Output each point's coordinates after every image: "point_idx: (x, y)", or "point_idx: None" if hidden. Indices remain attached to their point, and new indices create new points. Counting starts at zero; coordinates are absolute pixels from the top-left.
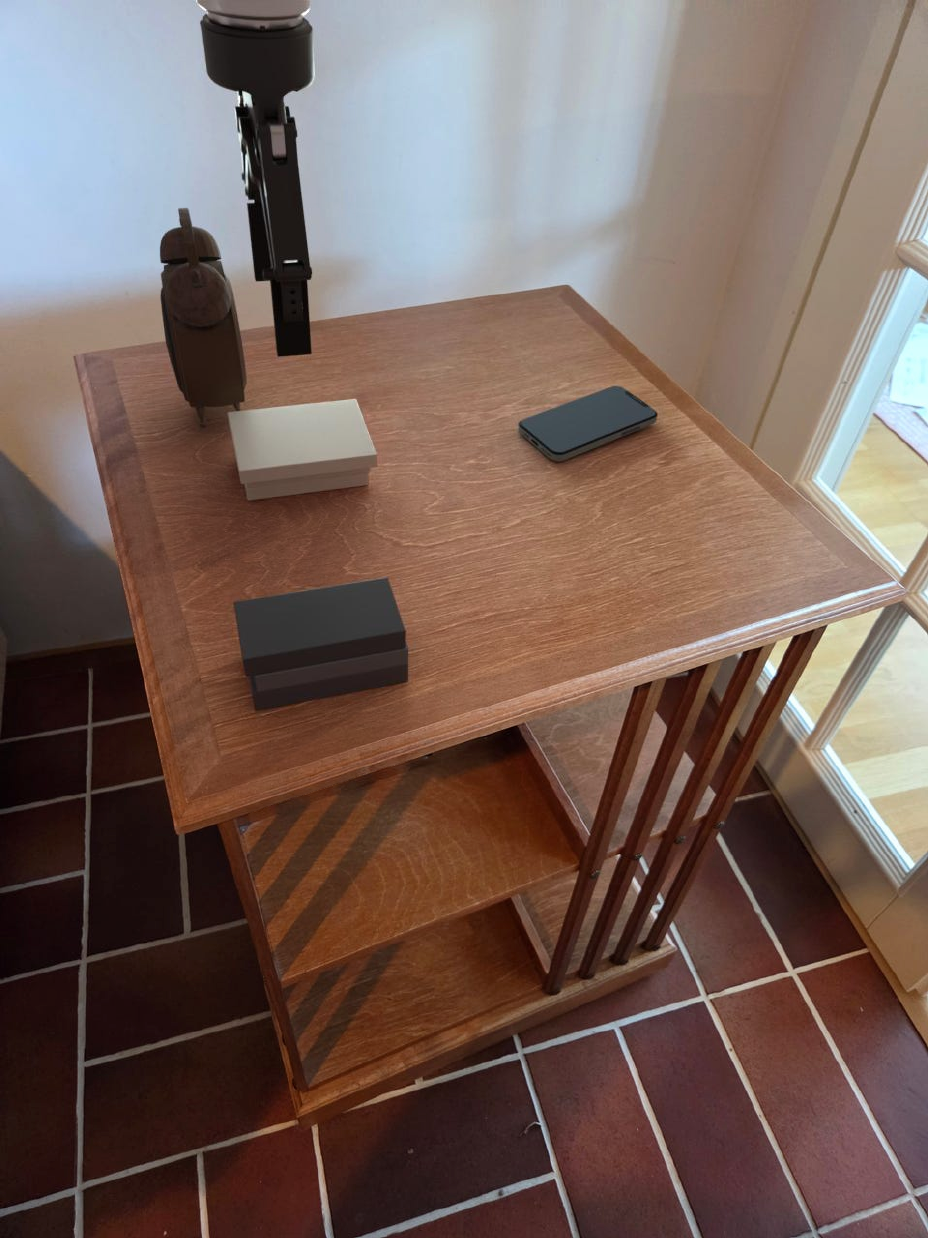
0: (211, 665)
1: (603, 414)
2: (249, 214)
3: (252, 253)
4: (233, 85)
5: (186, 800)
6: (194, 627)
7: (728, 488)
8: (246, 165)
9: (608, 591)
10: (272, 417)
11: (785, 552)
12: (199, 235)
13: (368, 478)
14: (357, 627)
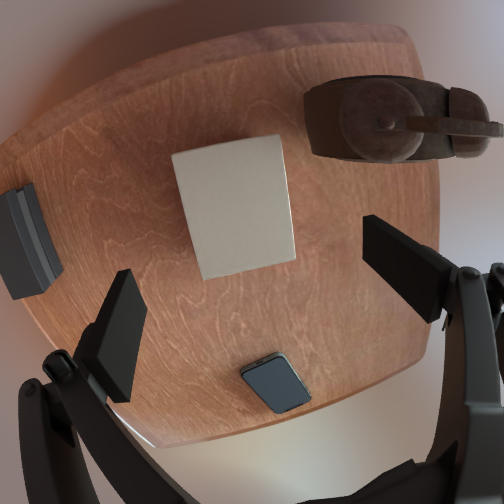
0: (24, 162)
1: (281, 395)
2: (430, 264)
3: (391, 230)
4: None
5: None
6: (49, 141)
7: (217, 426)
8: (482, 339)
9: None
10: (267, 180)
11: (169, 433)
12: (475, 140)
13: None
14: (6, 274)
